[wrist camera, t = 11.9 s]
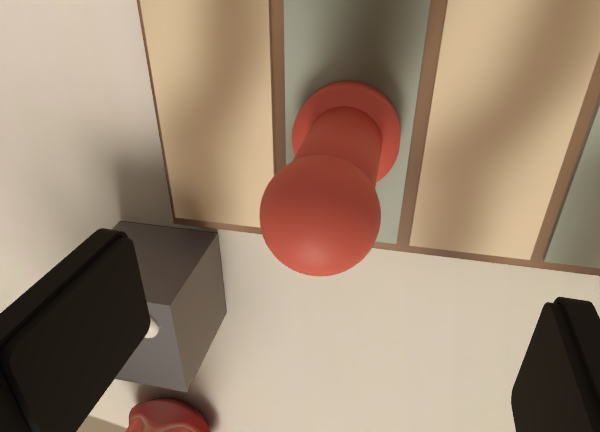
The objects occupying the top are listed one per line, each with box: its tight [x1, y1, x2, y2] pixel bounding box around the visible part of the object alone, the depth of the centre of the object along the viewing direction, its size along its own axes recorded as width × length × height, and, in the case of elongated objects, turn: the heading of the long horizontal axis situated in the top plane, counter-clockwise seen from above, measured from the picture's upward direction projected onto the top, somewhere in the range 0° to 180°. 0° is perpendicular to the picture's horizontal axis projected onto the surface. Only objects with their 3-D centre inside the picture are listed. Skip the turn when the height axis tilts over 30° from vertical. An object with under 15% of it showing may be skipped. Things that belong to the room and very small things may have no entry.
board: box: [137, 0, 600, 276], centre depth 19 cm, size 30×12×1 cm, turn 90°
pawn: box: [259, 80, 401, 276], centre depth 16 cm, size 4×4×9 cm
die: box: [112, 221, 226, 392], centre depth 25 cm, size 6×6×6 cm
